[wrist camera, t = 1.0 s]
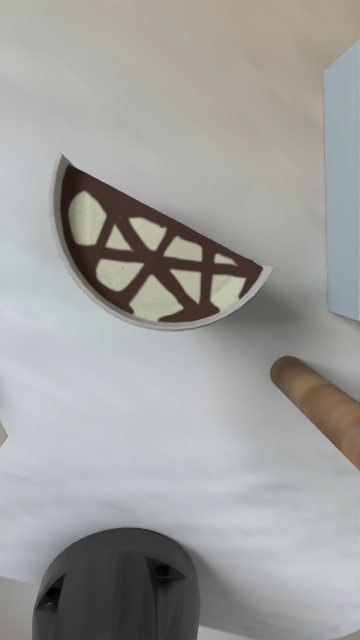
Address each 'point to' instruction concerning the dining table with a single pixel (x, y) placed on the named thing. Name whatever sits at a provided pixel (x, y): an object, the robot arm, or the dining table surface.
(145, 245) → the food container
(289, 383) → the peg
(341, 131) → the hole block
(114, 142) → the dining table surface
